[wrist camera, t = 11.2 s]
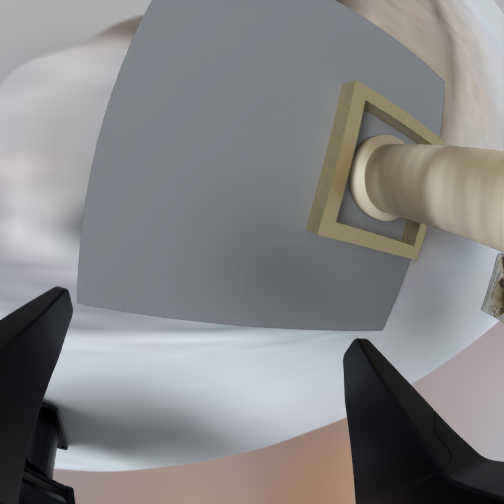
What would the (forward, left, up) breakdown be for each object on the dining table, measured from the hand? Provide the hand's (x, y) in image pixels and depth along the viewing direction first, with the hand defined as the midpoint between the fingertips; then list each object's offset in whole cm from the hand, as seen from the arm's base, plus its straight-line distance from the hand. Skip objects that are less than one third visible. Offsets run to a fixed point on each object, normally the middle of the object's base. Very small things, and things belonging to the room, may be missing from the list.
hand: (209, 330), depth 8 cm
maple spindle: (+7, -12, -9) cm, 16 cm away
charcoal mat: (+7, -6, -9) cm, 13 cm away
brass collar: (+7, -12, -9) cm, 17 cm away
